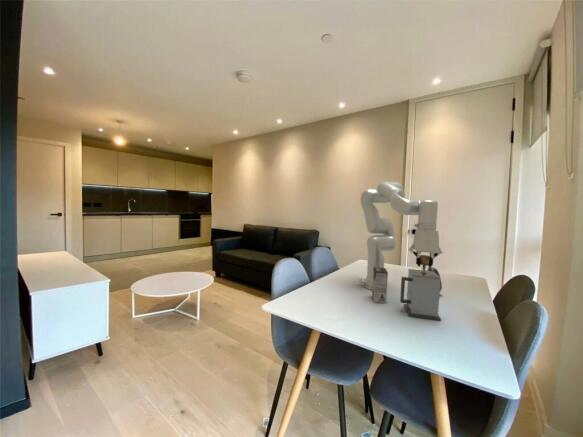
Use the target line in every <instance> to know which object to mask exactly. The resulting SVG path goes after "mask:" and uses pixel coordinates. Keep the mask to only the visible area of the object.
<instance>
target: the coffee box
mask: <svg viewBox="0 0 583 437" xmlns="http://www.w3.org/2000/svg"><path fill="white" fill-rule="evenodd" d="M388 276H389V274H388V271H387V268H385V267H384V268H375V267H374V268H373V287H372V290H371V292H372V293H371V297H372V301H373V303H381V304H386V303H387V290H388V278H389V277H388Z"/></svg>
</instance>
